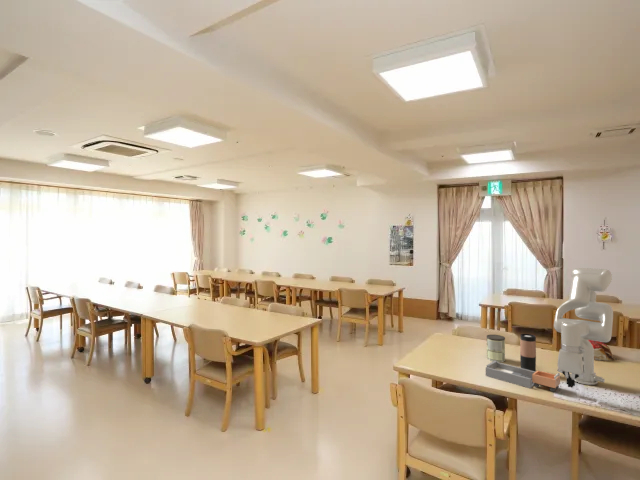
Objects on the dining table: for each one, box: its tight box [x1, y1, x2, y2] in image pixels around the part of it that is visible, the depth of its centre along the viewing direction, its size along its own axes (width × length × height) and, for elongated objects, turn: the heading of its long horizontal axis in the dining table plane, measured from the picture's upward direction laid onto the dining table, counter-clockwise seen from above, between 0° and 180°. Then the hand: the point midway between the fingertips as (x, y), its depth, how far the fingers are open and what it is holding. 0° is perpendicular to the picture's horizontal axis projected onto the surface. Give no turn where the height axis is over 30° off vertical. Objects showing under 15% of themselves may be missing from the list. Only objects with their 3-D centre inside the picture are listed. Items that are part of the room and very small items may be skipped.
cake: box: [588, 340, 619, 362], centre depth 225 cm, size 23×24×10 cm
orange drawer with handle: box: [532, 369, 561, 393], centre depth 177 cm, size 10×8×8 cm
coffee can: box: [486, 334, 506, 363], centre depth 218 cm, size 10×10×14 cm
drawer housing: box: [485, 361, 536, 389], centre depth 189 cm, size 22×13×6 cm, turn 42°
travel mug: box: [519, 333, 537, 372], centre depth 200 cm, size 8×8×20 cm
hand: (570, 386), depth 169 cm, fingers closed
